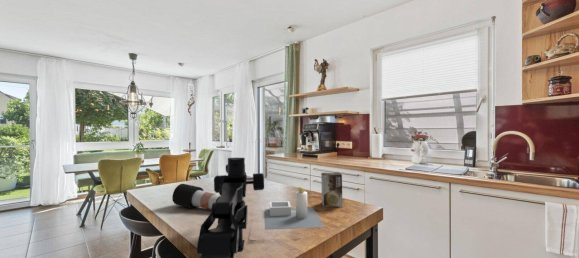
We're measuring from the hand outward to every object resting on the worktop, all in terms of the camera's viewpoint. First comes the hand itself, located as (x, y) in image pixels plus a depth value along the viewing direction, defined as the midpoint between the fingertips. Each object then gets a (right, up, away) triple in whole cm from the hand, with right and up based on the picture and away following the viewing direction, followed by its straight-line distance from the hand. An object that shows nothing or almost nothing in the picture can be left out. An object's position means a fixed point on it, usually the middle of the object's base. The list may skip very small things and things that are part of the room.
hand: (241, 179), depth 106 cm
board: (+21, -16, -1) cm, 27 cm away
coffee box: (+40, -17, +17) cm, 47 cm away
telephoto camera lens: (-18, -17, +13) cm, 28 cm away
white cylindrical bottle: (+25, -15, -1) cm, 29 cm away
